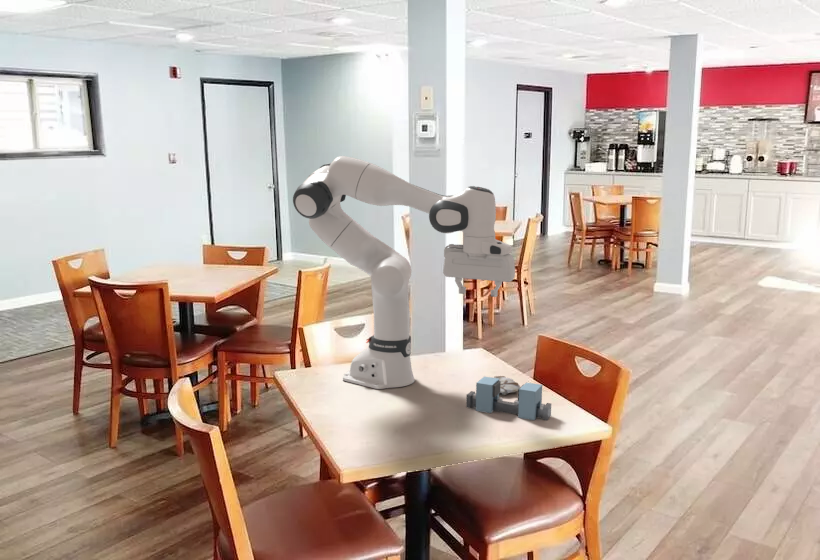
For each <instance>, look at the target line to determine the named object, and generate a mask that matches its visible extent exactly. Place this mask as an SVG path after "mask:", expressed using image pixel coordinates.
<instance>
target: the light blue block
mask: <svg viewBox="0 0 820 560" xmlns="http://www.w3.org/2000/svg"><path fill="white" fill-rule="evenodd" d="M517 400H518V401H519V411H518V414H517V415H518V418H519V419H525V420H529V421H530V420H531V421H535V420H536V419H537V418H536V406H539V407H540V405H541V404H543V402H542V401H543V384H539V383H533V382H525V383H524V384H522V385H520V388H519V389H518V391H517Z"/></svg>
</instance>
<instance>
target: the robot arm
mask: <svg viewBox="0 0 820 560" xmlns="http://www.w3.org/2000/svg"><path fill="white" fill-rule="evenodd" d="M346 196H348V197H349V198H350V197H351V198H352V199H354V200H357V201H360V202H362V203H365V204H369V205H373V206H379V207H384V206H386V207H387V206H406V207H410V208H413V209H414V210H418V211H421V212H423V213H426V214H428V219H429V222H430V225H431V227H432V228H433V229H434V230H435V231H437V232H438V233H442V234H452V233H455V232H462V235H463V236H462V237H463V238H462V244H454V243H451V244H450V243H449V244H448V245H446V246H445V247H444V249H443V257H444V260H443V270H442V273H443V275H444V277H446V278H454V282H455V283H456V286H457V288H458V294H462V295H465V294H466V293H467V288H466V286H464V285H463V283H462V281H463V279H470V280H478V281H479V280H481V281H492V282H494V285H495V287H494V288H493V289H491V290H490V297H492V298H493V297H494V298H497V297H498V294H499V293H498V290H499V289H500V287H501V286H502V284H503V283H504V282H505V283H510V282H512V281H513V280H514V279H515V277H516V276H515V275H516V265H515V260H514V259H515V258H514V257H513V255H512V254H511V253H512V250H513V246H512V245H510V244H509V243H506V242H503V241H501V240H498V239H496V232H495V223H496V219H497V218H496V217H497V216H496V215H497V206H496V197H495V195H494V192H492V190H490V189H489V188H486V187H480V186H474V185H470V186H467V187H466V188H465V189H463V190H461V191H460V192H458V193H456V194H452V195H443V194H439V193H436V192H434V191H430V190H429V189H426V188H423V187H421V186H417V185H415V184H412V183H411V182H408V181H406V180H405V179H402V178H401V177H399V176H398V175H396V174H394V173H392V172H390V171H388V170H387V169H384V168H383V167H381V166H378V165H376V164H374V163H371V162H369V161H366V160H363V159H359V158H355V157H353V156H352V157H351V156H347V155H340V156H337V157H336V158H334V159H333V160H332V162H328V163H325V164H322V165H321V166H319V168H318V169H316V170H315V171H313V172H312V173H310V175H308V176H307V178H306V179H305V180H304V181H303V182H302V183H301V184H300V185H299V186H298V187H297V188H296V189H295V192H294V194H293V196H292V203H293V204H292V205H293V207H294V209H295V210H296V211H297V213H298V214H299V215H300V216H302V217H303V218H306V219H308V224H309V227H310V229H311V230H312V231H313V233H315V235H316V236H317V237H318V238H319V239H320V240H321V241H322V243H325V245H327V246H328V247H329V248H330V249H331V250H332V251H333V252H335V253H336V254H337V255H338V256H339V257H341V258H342V259H343V260H345V262H347V263H348V264H350V265H352V266H354V267H355V268H357V269H359V270H361V271H362V272H364V273H366V274H367V275H369V276H370V283H371V284H370V287H371V288H370V289H371V300H372V308H373V335H372V336H369V338H367V339H366V342H365V343H366V344H368V347H366V348H365V349H364V350H363V351H361V352H360V353H359V354H357V355H355V356H354V357H353V359H352V360H351V363H350V368H349V370H348V371H346V372H345V373H344V374H343V375H342V380H343V381H345V382H348V383H352V384H355V385H360V386H363V387H367V388H372V389H375V390H383V389H391V388H401V387H406V386H409V385H411V384H412V385H413V384H414V383H415V381H416V380H415V376H414V371H413V368H412V360H411V353H412V337H411V334H410V332H411V331H410V330H411V329H410V323H411V321H410V320H411V319H410V316H411V315H410V302H409V301H410V300H409V283H410V280H411V276H412V266H411V264H410V262H409V260H408V259H407V258H406V257H405V256H403V254H400V253H399V252H398V251H396V250H395V249H393V248H392V247H391V246H389V244H386V243H385V242H383V241H381V240H380V239H378V238H377V237H376V236H374V235H373V234H371V232H369V231H368V230H367V229H366V228H364V226H362V225H361V224H359V223H358V222H357V221H356V220H354V218H352V217H351V215H348V214H347V213H346V212H345V211H344V210H343V209H342V206H341V202H345V200H346Z"/></svg>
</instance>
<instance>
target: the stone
mask: <svg viewBox="0 0 820 560" xmlns="http://www.w3.org/2000/svg"><path fill="white" fill-rule="evenodd" d="M493 378H498V379H499V381H501V385H500V393H499V394H501V395H502V396H506V395H508V394H509V393H515V392H518V389H519V388H520V387H521V385H520V383H518V382H516V381H514V379H512V378H510V377H506V376H504V375H495V376H494V377H493Z"/></svg>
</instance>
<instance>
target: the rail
mask: <svg viewBox="0 0 820 560" xmlns="http://www.w3.org/2000/svg"><path fill="white" fill-rule="evenodd" d="M503 397H504V396H503ZM503 397H501V396H499V398H498V400H494V399H493V412H499V413H500V412H501V413H506V414H513V415H518V411H519V401H518V399H515V400H514V401H506V400H503ZM465 404H466V406H465V407H466V408H469V409H470V408H475V409H476V391H474V390H471V391H470V392H468V393H467V394H466V403H465ZM550 416H551V417H552V403H551V402H550V403H549V402H546V403H542V404H541V405H540V407H539V406H536V417H537V418H536V419H542V418H543V419H542V421H548V420H550V418H551V417H550Z"/></svg>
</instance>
